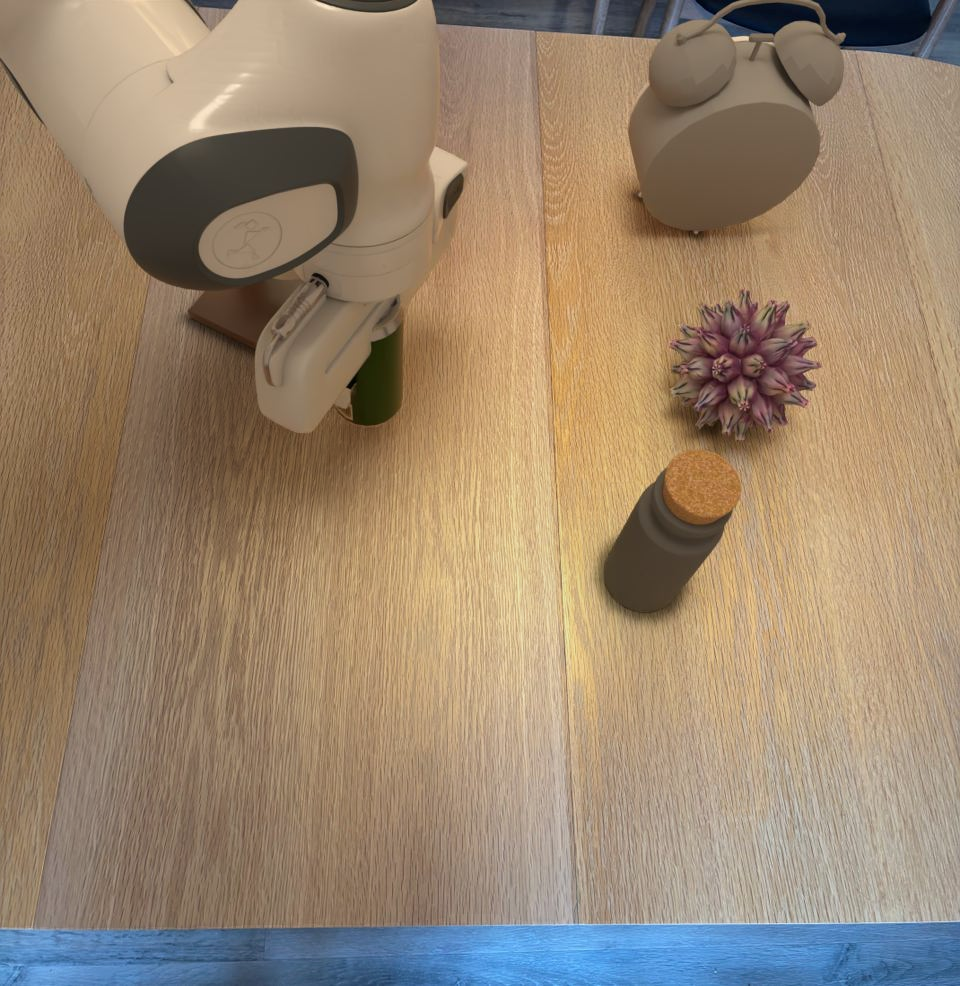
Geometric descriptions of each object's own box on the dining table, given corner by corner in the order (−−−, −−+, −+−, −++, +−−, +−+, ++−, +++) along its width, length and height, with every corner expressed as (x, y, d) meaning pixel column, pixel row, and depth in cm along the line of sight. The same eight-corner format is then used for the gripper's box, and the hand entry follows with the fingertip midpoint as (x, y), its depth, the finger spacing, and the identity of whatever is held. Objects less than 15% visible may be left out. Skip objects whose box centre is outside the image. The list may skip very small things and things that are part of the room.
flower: (787, 461, 73) (670, 474, 68) (734, 346, 78) (621, 351, 73) (880, 384, 63) (752, 393, 59) (813, 258, 68) (689, 258, 64)
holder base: (282, 215, 79) (272, 148, 72) (415, 276, 77) (417, 213, 70) (189, 318, 73) (169, 254, 66) (332, 387, 71) (325, 329, 64)
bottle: (669, 624, 63) (742, 538, 50) (594, 597, 64) (646, 506, 51) (685, 556, 66) (758, 458, 53) (613, 531, 67) (667, 428, 53)
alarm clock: (758, 182, 87) (862, -38, 68) (782, 246, 83) (900, 31, 64) (600, 184, 85) (661, -42, 65) (617, 250, 81) (688, 29, 61)
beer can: (373, 443, 66) (369, 346, 55) (319, 406, 67) (305, 304, 56) (416, 397, 68) (420, 296, 58) (363, 363, 69) (357, 257, 59)
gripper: (309, 371, 46) (327, 492, 58) (482, 149, 55) (466, 293, 68) (211, 323, 47) (248, 452, 59) (397, 113, 56) (396, 261, 69)
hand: (365, 366), depth 63 cm, fingers closed on beer can, 5 cm apart
